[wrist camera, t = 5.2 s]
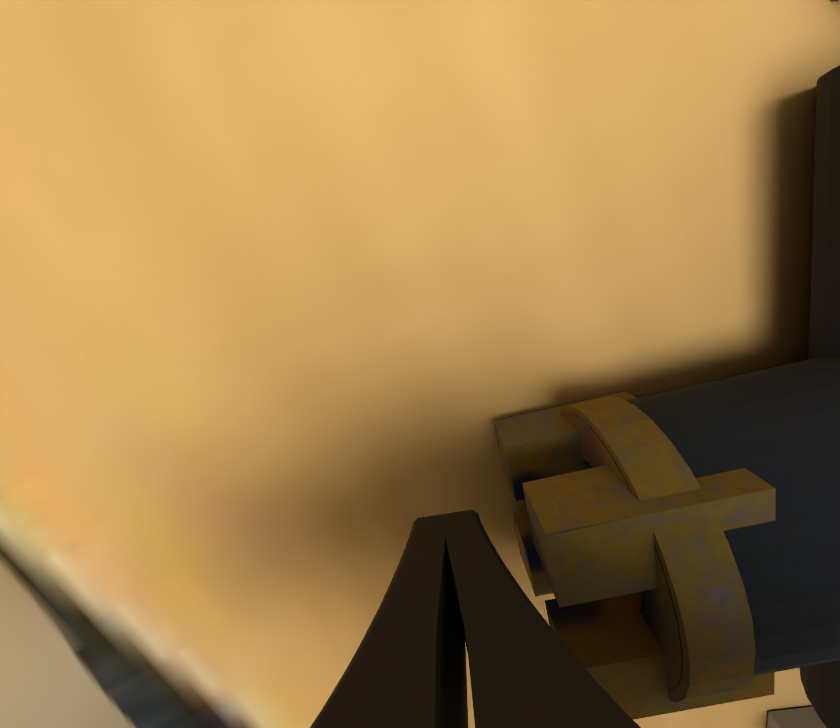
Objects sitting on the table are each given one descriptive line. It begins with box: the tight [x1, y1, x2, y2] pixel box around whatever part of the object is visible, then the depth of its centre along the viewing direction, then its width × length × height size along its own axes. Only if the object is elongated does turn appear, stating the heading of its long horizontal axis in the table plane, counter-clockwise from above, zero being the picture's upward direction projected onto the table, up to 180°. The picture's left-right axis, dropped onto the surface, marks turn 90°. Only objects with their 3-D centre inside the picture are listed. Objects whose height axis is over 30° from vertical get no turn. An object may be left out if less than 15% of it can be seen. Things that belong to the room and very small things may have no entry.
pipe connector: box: [493, 66, 840, 728], centre depth 8 cm, size 12×5×15 cm
